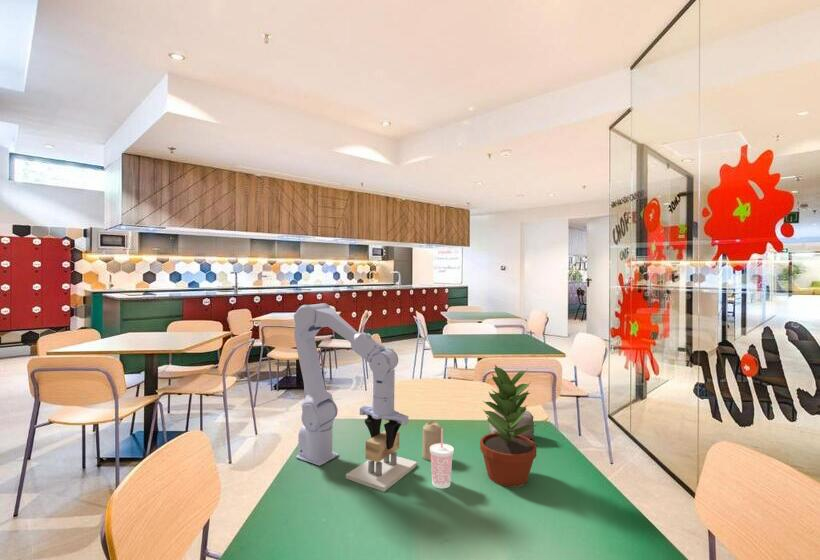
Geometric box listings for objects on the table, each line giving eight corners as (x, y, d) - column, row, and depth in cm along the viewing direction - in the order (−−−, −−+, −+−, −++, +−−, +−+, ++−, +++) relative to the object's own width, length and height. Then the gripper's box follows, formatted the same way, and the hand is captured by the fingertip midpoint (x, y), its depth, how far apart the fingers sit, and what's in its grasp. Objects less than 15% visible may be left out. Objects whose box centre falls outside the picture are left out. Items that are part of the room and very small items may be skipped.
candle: (440, 462, 113) (440, 427, 113) (421, 460, 114) (421, 425, 114) (442, 453, 119) (443, 420, 119) (424, 451, 120) (424, 418, 120)
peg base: (345, 478, 104) (345, 462, 104) (381, 455, 117) (381, 441, 117) (383, 491, 97) (384, 475, 97) (416, 465, 111) (417, 451, 111)
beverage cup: (425, 486, 100) (426, 431, 100) (433, 475, 106) (434, 422, 105) (449, 492, 98) (450, 434, 98) (456, 480, 103) (457, 426, 103)
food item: (493, 442, 128) (494, 411, 128) (487, 432, 136) (488, 403, 136) (535, 442, 128) (536, 411, 128) (527, 432, 136) (528, 403, 136)
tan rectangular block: (378, 462, 102) (378, 444, 102) (365, 458, 104) (365, 441, 104) (399, 448, 111) (399, 431, 110) (387, 444, 113) (387, 428, 113)
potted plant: (546, 475, 107) (548, 363, 106) (519, 498, 95) (521, 372, 95) (497, 457, 117) (499, 354, 116) (467, 476, 106) (469, 362, 105)
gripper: (352, 394, 107) (352, 445, 108) (398, 404, 100) (397, 458, 100) (368, 388, 113) (368, 436, 114) (412, 397, 106) (412, 448, 106)
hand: (382, 446), depth 107 cm, fingers closed on tan rectangular block, 4 cm apart
